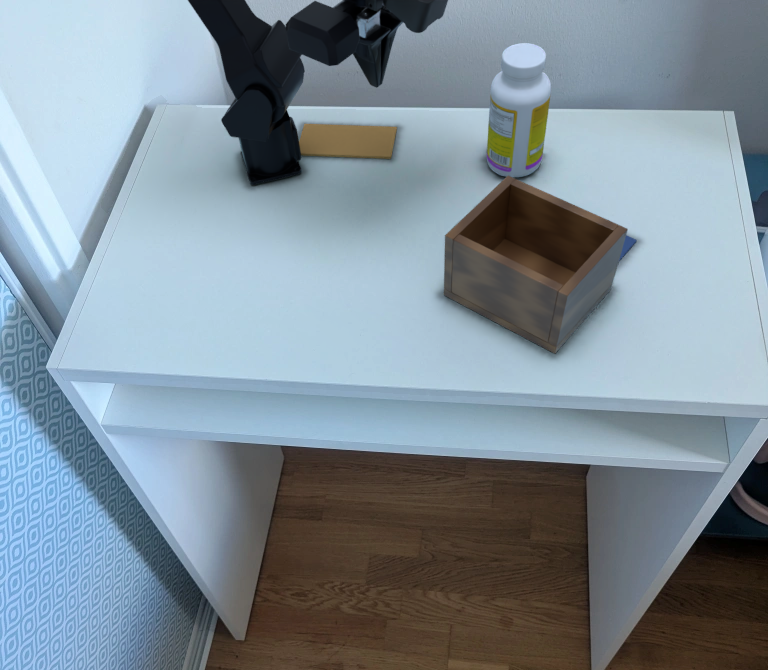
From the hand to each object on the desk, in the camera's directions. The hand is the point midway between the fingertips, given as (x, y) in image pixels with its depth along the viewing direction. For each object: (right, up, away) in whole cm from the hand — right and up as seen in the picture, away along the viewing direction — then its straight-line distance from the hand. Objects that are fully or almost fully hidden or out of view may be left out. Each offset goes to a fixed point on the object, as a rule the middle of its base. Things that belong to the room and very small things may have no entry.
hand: (376, 85), depth 81 cm
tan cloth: (-4, +1, +15) cm, 15 cm away
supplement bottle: (+16, -3, +11) cm, 20 cm away
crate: (+16, -22, 0) cm, 27 cm away
